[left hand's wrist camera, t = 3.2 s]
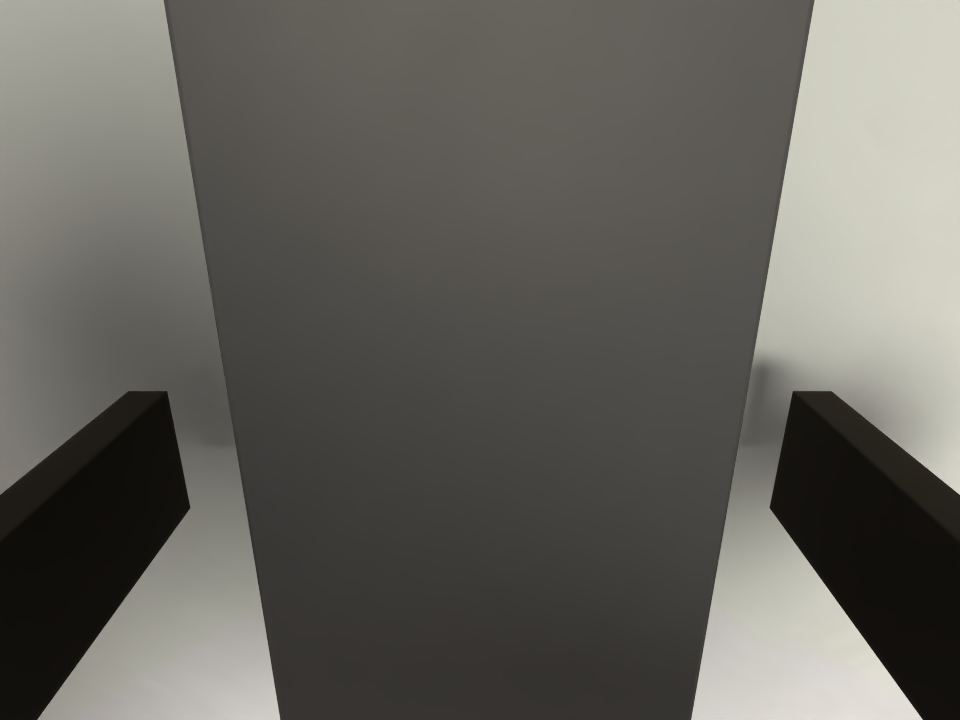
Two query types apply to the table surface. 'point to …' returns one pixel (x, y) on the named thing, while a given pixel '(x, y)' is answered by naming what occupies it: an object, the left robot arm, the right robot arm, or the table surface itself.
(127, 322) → the table surface
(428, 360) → the beam
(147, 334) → the table surface
